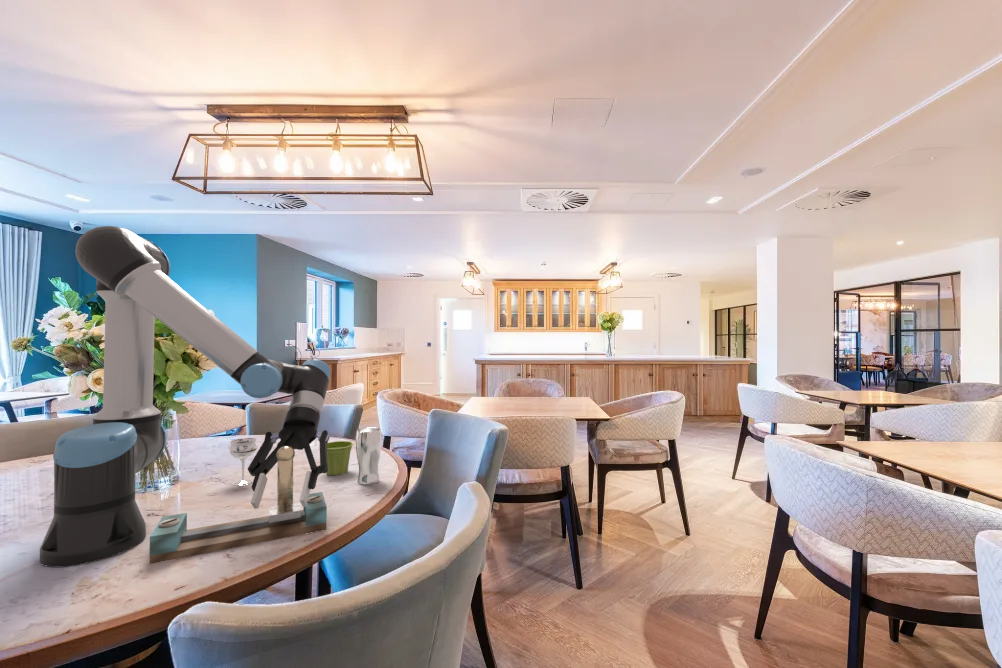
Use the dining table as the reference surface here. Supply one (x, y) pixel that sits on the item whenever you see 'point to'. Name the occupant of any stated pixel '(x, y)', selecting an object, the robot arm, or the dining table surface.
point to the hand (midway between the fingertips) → (278, 504)
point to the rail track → (231, 532)
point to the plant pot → (338, 457)
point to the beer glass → (368, 454)
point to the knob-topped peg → (285, 488)
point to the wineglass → (242, 453)
